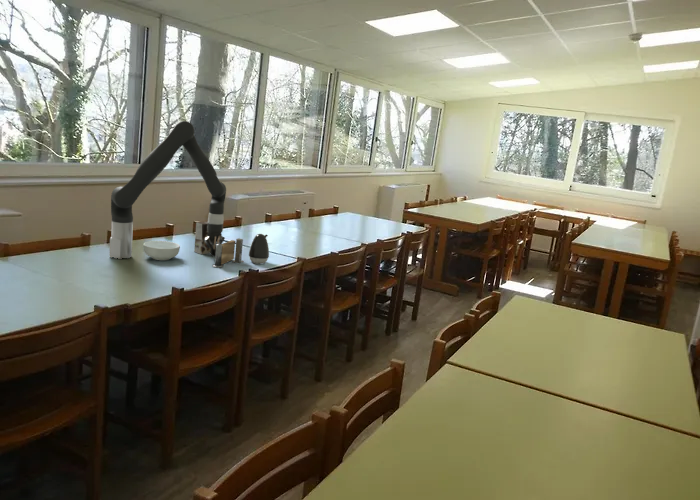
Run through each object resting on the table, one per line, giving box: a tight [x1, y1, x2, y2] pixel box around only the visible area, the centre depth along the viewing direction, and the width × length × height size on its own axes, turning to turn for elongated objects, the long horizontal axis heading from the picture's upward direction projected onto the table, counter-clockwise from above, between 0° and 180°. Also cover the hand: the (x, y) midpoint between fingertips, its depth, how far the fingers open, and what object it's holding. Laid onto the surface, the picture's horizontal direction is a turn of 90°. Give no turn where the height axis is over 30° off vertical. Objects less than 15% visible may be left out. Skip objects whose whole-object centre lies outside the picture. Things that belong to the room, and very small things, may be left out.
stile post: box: [231, 237, 245, 265], centre depth 271 cm, size 4×4×12 cm
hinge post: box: [212, 243, 224, 269], centre depth 259 cm, size 5×5×11 cm
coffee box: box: [193, 220, 210, 255], centre depth 282 cm, size 9×6×16 cm
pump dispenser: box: [248, 233, 270, 265], centre depth 275 cm, size 10×10×15 cm
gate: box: [221, 239, 236, 265], centre depth 268 cm, size 2×14×10 cm, turn 167°
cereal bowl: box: [142, 240, 181, 261], centre depth 262 cm, size 17×17×7 cm
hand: (213, 255), depth 272 cm, fingers closed
